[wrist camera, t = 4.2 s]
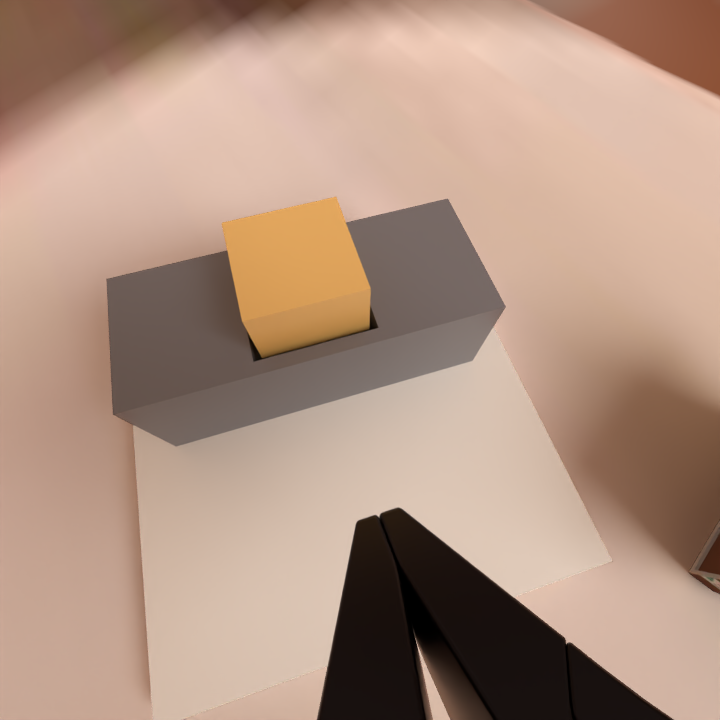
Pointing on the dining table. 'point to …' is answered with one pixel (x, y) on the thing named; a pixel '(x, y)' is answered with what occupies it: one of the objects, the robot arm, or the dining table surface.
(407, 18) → the dining table surface
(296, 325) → the amber key
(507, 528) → the grey block on base
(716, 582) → the food container
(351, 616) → the robot arm
